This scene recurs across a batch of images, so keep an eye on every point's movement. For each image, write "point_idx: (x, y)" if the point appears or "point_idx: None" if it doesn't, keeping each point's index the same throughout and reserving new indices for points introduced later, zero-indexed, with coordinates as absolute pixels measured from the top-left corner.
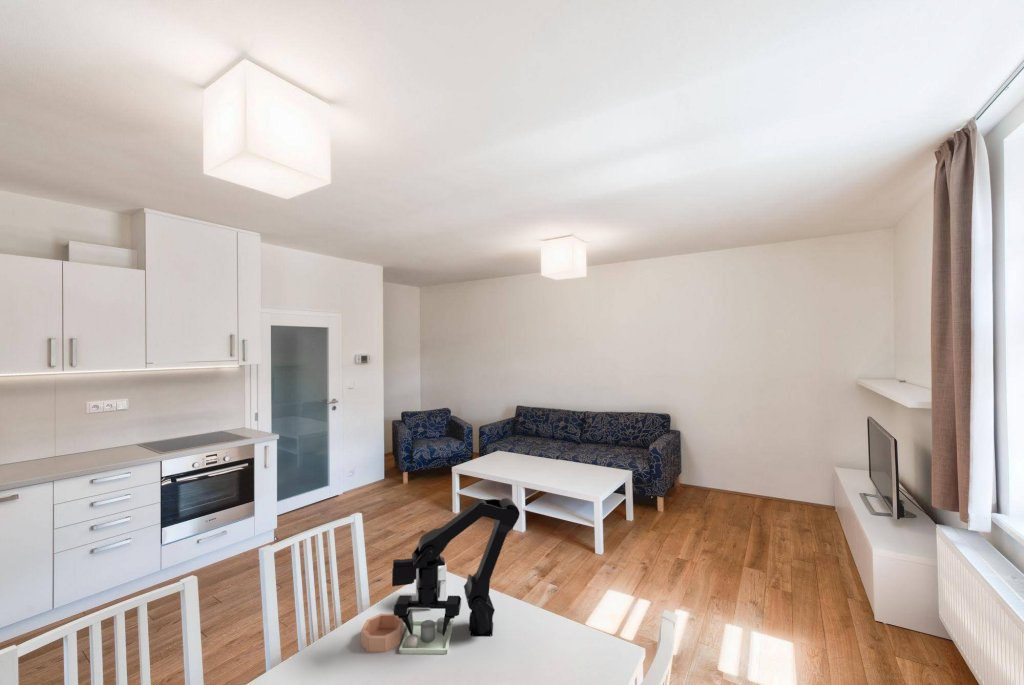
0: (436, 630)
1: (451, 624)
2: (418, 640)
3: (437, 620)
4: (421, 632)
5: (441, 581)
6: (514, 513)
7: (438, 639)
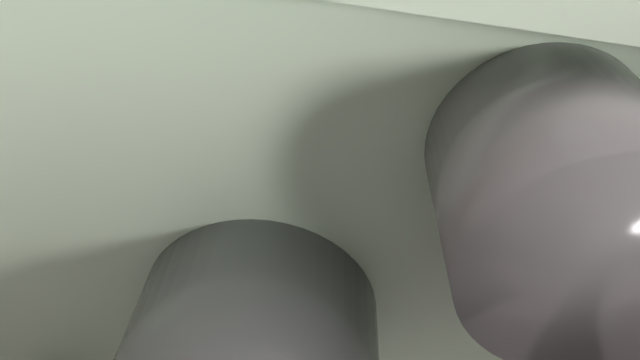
0: (414, 162)
1: None
2: (123, 331)
3: (470, 260)
4: None
5: None
6: None
7: (435, 356)
